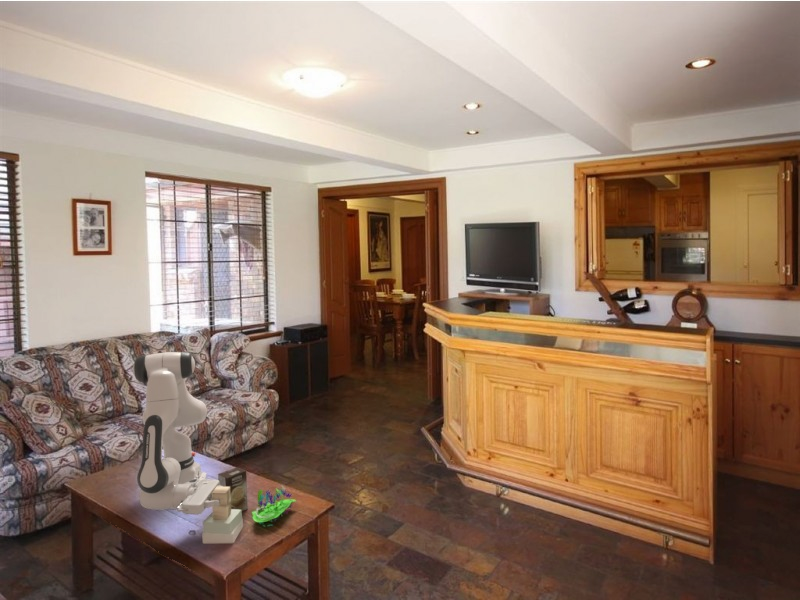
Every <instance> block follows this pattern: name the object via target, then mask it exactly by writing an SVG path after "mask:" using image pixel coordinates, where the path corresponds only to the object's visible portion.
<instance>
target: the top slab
mask: <svg viewBox="0 0 800 600" xmlns="http://www.w3.org/2000/svg"><path fill="white" fill-rule="evenodd" d="M242 512H243V511H242V510H239V509H231V514H230V515H229V517H228V518H227V519H213V511H212V512H211V513H210V514H209V515H208V516H207V517H206V518H205V519H204V520H203V521H202V530H203V532H204V533H218V534H231V532H232V531H233V530H234V529H235V528H236V526H237V525H238V524H239V523H240V522H241V521H242V518H243V513H242ZM203 532H202V533H203Z"/></svg>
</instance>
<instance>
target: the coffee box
mask: <svg viewBox="0 0 800 600" xmlns="http://www.w3.org/2000/svg"><path fill="white" fill-rule="evenodd" d="M217 475H218V476H217V480H219V481H220V485H221V486H223V487H230V495H231V509H239V510H242V512H244V511H247V510H248V509H249V506H248V505H249V504H248V502H249V501H248V483H247V482H248V481H247V470H245V469H243V468H241V467H238V466H237V467H234V468H231V469H229V470H228V469H227V470H226V471H223V472H220V473H218V474H217Z"/></svg>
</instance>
